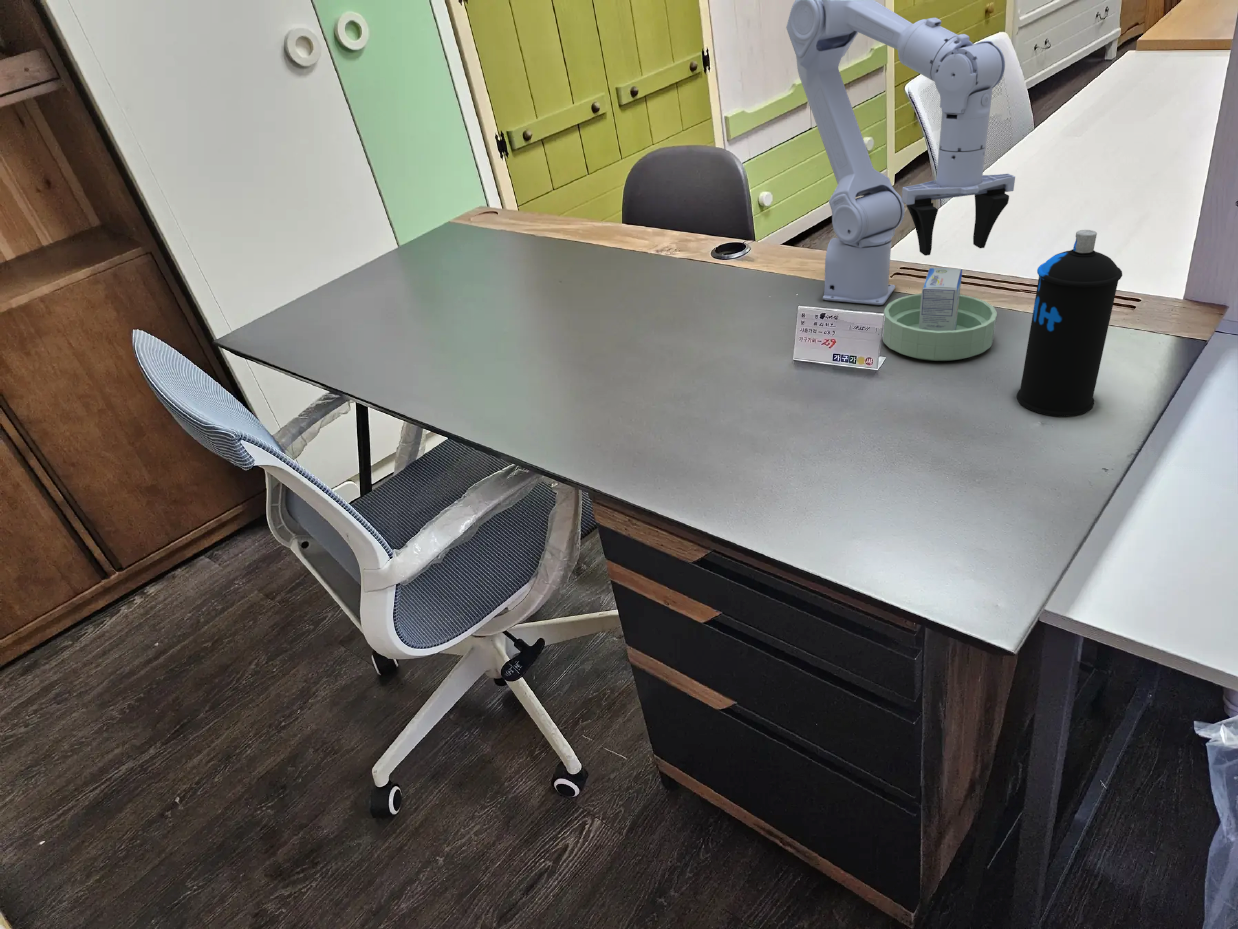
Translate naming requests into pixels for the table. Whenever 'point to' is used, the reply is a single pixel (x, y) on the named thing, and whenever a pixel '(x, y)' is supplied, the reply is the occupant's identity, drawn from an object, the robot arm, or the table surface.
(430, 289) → the table surface
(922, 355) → the bowl
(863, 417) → the table surface
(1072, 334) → the aerosol can
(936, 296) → the medicine box
